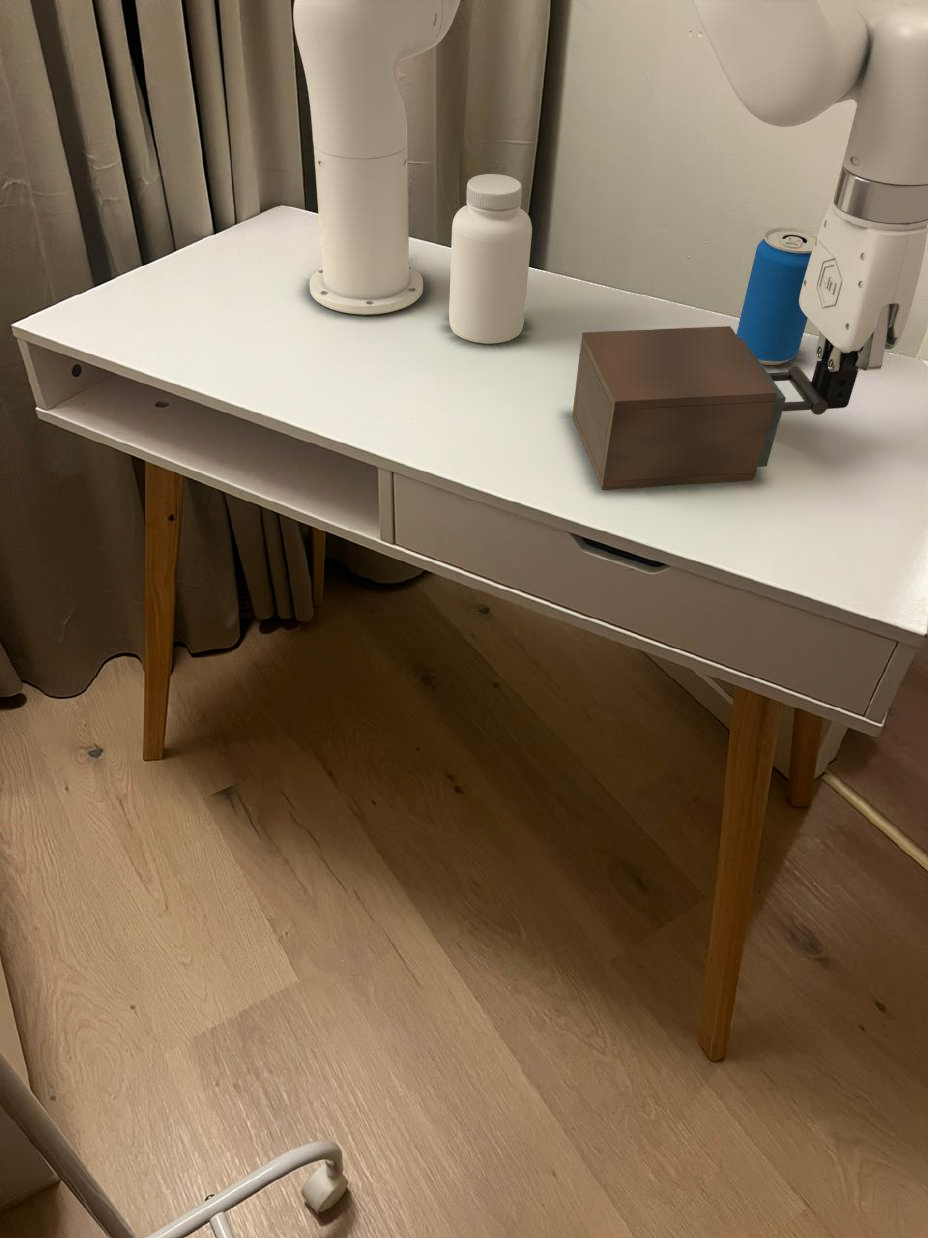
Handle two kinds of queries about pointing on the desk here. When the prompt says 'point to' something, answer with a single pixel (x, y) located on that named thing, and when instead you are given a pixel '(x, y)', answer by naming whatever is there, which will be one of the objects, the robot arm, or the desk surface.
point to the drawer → (805, 390)
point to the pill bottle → (490, 261)
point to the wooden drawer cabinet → (671, 406)
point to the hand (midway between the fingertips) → (826, 403)
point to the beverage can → (776, 295)
